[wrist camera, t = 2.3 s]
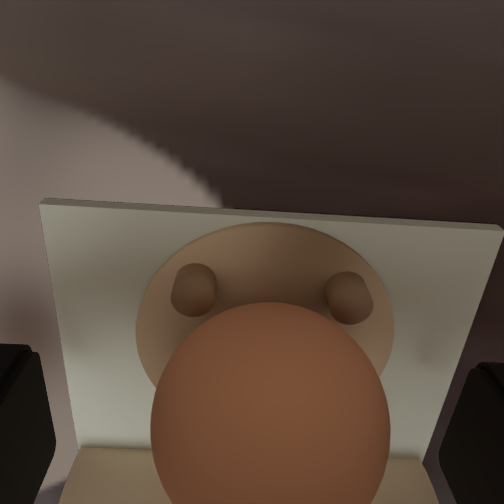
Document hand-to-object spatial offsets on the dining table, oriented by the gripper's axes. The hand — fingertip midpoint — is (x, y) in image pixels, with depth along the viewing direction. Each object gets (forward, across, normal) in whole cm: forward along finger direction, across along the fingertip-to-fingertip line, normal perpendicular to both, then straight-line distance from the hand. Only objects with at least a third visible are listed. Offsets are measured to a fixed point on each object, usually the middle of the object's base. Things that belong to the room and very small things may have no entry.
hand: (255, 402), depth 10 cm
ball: (0, 0, 0) cm, 1 cm away
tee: (+3, 0, 0) cm, 3 cm away
